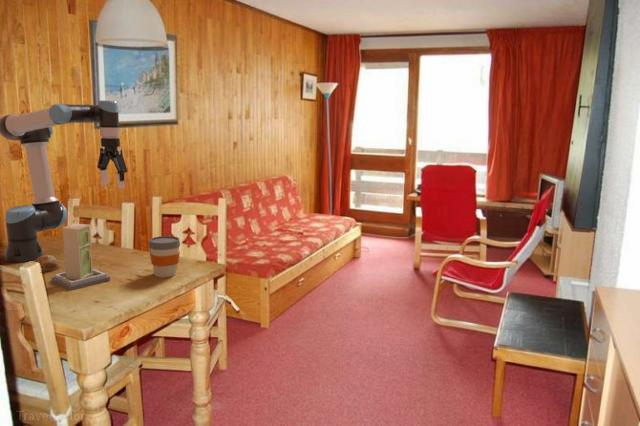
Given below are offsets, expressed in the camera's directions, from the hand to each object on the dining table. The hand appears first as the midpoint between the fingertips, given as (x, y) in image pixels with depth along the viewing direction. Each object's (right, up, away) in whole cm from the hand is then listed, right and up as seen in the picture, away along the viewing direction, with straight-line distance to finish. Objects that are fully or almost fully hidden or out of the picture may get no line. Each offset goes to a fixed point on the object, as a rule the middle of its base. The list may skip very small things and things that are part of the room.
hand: (113, 186), depth 221 cm
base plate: (-6, -39, -17) cm, 43 cm away
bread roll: (-27, -36, -4) cm, 45 cm away
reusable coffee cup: (+25, -37, -6) cm, 45 cm away
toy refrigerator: (-6, -37, -17) cm, 41 cm away
